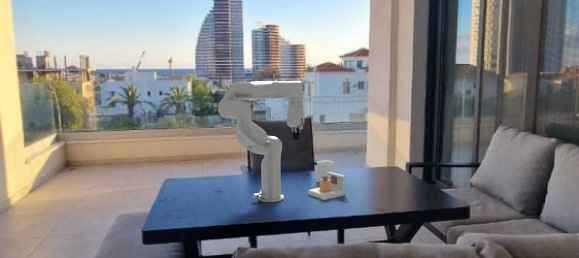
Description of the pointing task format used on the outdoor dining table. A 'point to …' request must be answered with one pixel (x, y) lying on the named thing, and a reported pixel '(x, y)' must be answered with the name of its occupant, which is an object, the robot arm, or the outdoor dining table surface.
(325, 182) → the plug
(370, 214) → the outdoor dining table surface
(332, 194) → the socket
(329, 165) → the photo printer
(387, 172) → the outdoor dining table surface
